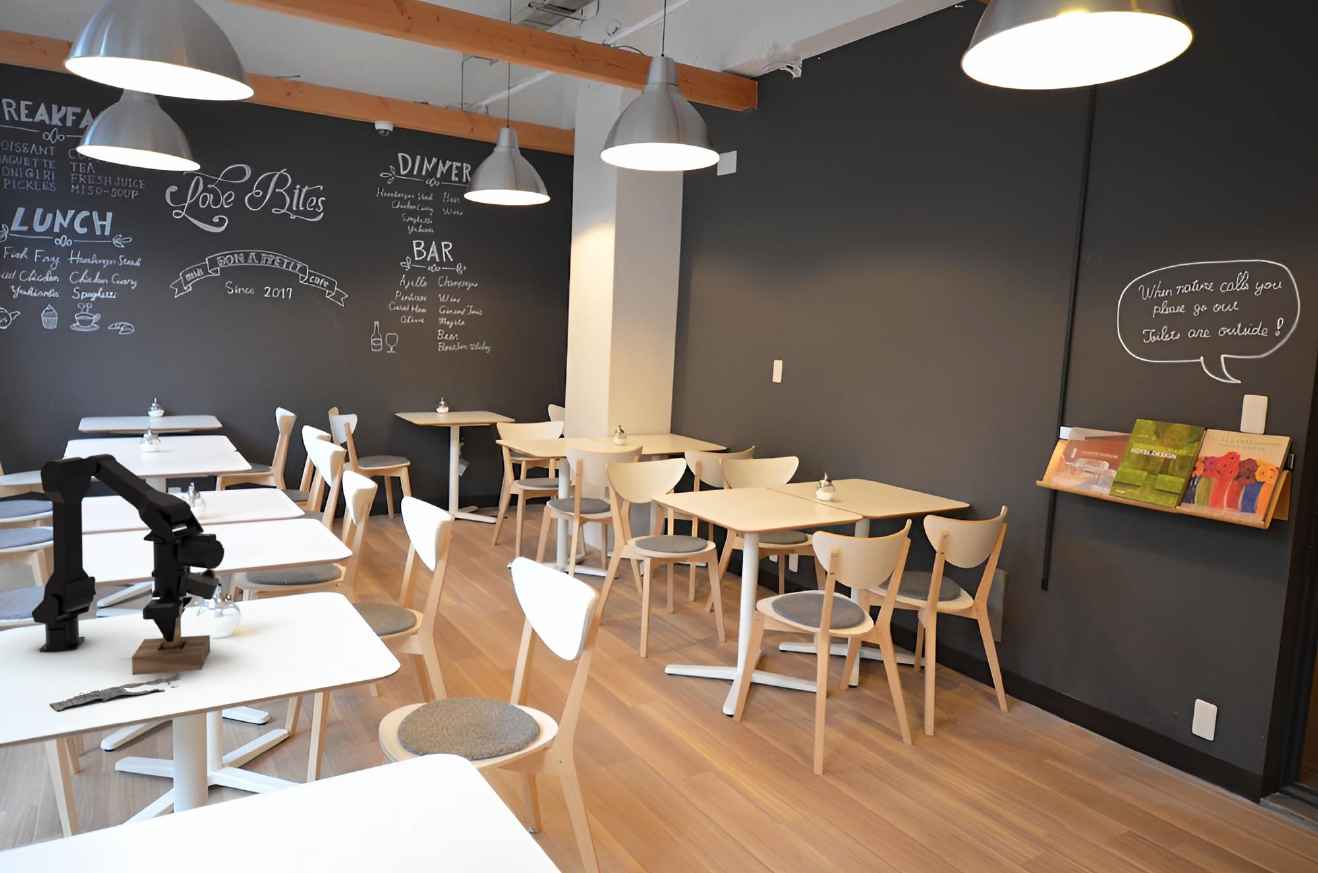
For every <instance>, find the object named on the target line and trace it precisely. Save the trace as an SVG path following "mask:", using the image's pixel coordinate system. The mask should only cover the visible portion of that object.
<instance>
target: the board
mask: <svg viewBox="0 0 1318 873" xmlns="http://www.w3.org/2000/svg"><path fill="white" fill-rule="evenodd" d="M210 638H211V635H210V634H209V635H208V634H206V635H203V634H202V635H189V636H188V635H187V636H181V643H182V645H181V646H180V649H176V650H165V648H163V637H159V638H157V637H156V638H145V639H143V641H142V642H141V644H140V645H139V646H138V648H137V649H136V651H135V652H134V654H133V655H132V657H131V667H132V668H131V672H132V675H143V674H144V675H145V674H156V673H157V674H158V673H159V674H160V673H170V672H171V673H174V672H184V671H186V672H187V671H199V670H200V671H201V670H202V669H203V666H204V665H205V663H206V661H207V658H208V657H209V654H210V653H211V639H210Z"/></svg>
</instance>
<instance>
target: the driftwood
mask: <svg viewBox="0 0 1318 873" xmlns="http://www.w3.org/2000/svg"><path fill="white" fill-rule="evenodd" d="M180 680H181V677H180V672H176V673H175V674H174V676H170V677H167V678H157V679H154V680H148V681H147V682H140V683H139V682H138V683H137V682H136V683H135V682H134V683H133V682H132V683H127V684H122V685H120V686H112V687H109V688H105V689H97V691H96V690H93V691H89V692H90V693H88V692H86V693H87V694H85V693H82V692H80V694H79V696H78V695H76V696H73V697H74V698H73V697H71V698H67V699H65V700H66V701H65V700H62V701H58V702H52V703H50V705H51V706H52V707H53V708H54V710H55V711H57V710H61V711H62V710H64V708H66V707H71V706H74V705H82V704H85V703H87V702H91V701H94V700H96V699H102V702H104V701H105V702H106V701H107V700H109V699H111V698H115V697H118V696H121V695H142V694H148V693H151V692H153V691H159V692H163V693H165V691H166V689H159V688H154V689H150V690H143V691H135V692H132V691H129V690H128V691H129V692H128V691H126V689H124V688H129V689H135V688H139V687H142V686H158V685H160V684H164V683H165V684H167V686H169V687H170V688H171V689H174V688H178V687H179V685H178V684H177V685H176V686H174V685H173V686H171V683H172V682H176V681H180ZM99 690H101V691H99ZM81 694H83V695H81ZM57 712H58V711H57Z"/></svg>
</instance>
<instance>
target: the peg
mask: <svg viewBox="0 0 1318 873" xmlns="http://www.w3.org/2000/svg"><path fill="white" fill-rule="evenodd" d="M181 620H182V616H181V615H180V617H178V618H177V624H176V630H175V635H174V640H173V642H167V641H166V640H165V638H164V636H163V635H162V638H163V648H165V650H176V649H180V646H181V645H182V643H181V637H182V627H181V626H182V621H181Z"/></svg>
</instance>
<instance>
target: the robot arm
mask: <svg viewBox="0 0 1318 873" xmlns="http://www.w3.org/2000/svg"><path fill="white" fill-rule="evenodd" d="M39 473H40V481H41V485H42V491H43V493H44V494H45V495H46V496H47V497H48V499H49V500H50V502H51V504H52V505H51V506H52V509H51V510H52V539H53V540H52V548H53V549H52V550H53V552H52V554H53V571H52V573H51V575H50V576H49V579H47V581H46V583H45V585H44V592H43V598H42V601H40V603H39V604H37V606H35V608H34V609H33V610H32V611H31V615H32V619H33V621H34V623H39V624H44V628H45V629H44V630H45V632H44V633H45V643H44V644H43V645H42V646H41V647H40V648H39V652H55V651H71V650H72V651H73V650H77V649H78V648H79V647H80V645H81V644H82V643H83V642H84V641H85V640H86V636H80V628H79V627H80V625H79V615H82V614H85V613H86V614H87V613H89V611H90V607H91V604H92V603H93V601H94V599H95V598H94V596H96V595H97V592H96V578H95V576H92V575H91V576H89V574H88V573H87V572H86V570H85V569H84V561H83V559H84V555H83V551H84V550H83V505H82V504H83V499H85V496H86V495H87V493H88V492H89V490H90V488H91V482H92V478H93V477H94V478H95V479H96V480H98V481H99V482H100V483H101V484H103V485H104V486H106V487H107V488H108V489H110V490H111V491H112V492H114V493H115V494H117V495H118V496H119V497H121V498H122V499H123V500H124V501H126V502H127V503H128V504H130V505H131V506H132V507H134V508H135V510H137V512H138V515H139V519H140V520H141V521H142V522H143V523H144V524H145V525H146V527H148V528H149V529H150V532H148V533H147V534H146V535H144V537H143V538H142V539H143V540H144V541H147V542H153V544H152V546H153V548H152V549H153V570H152V571H151V572H150V574H151V578H153V580H154V581H153V582H154V584H153V585H154V589H153V590H152V592H151V598H153V599H151V600H150V601H149V602H148V603H147V604H146V605H145V606H144V607H143V609H142V619H143V620H144V621H146V620H147V621H150V620H153V622H154V623H155V625H156V627H157V628H158V630H159V631H160V633H161V635H162V637H163V636H164V638H165V640H166V641H167V642H173V640H174V635H175V630H176V624H177V618H178V617H180V615H181V617H182V616H183V614H184V612H185V611H186V607H187V606H188V604H190V603H191V601H192V600H193V597H192V596H196V597H200V598H202V599H204V600H207V601H210V600H212V599H213V597H214V596H215V593H216V591H217V587H218V585H219V583H220V579H219V577H217V576H216V571H215V570H214V569H216V568H218V567H219V566H220V565H221V564H222V562H223V560H224V557H225V548H224V546H223V544H222V542H221V541H219V540H218V539H217V534H216V533H204V532H205V530H204V529H203V527H202V524H201V523H200V522H199V520H198V519H197V517H196V516H195V514H194V512H193V511H192V509H191V508H192V507H191V505H190V504H189V503H188V502H187V501H186V500H184V499H182V498H180V497H178V496H176V495H174V494H172V493H171V494H170V493H167V492H163V491H160V490H158V489H156V488H154V487H153V486H152V485H150V484H148V482H146V481H145V480H143V479H142V478H140V476H138V475H137V474H135V473H134V472H132V471H131V470H130V469H128V468H127V467H126V466H124V465H123V464H121V463H120V462H119V461H118V460H117V459H116V457H115V456H114V455H113V454H110V453H101V454H95V455H90V456H87V457H84V458H83V457H81V456H74V457H67V458H61V459H54V460H50V461H47V462H46V463H45V464H44V465H42V466H41V468H40V472H39ZM173 530H174V531H173ZM191 568H201V569H205V570H204V571H203V572H202V573H200V572H197V573H196V572H191ZM187 594H189V595H192V596H187Z"/></svg>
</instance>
